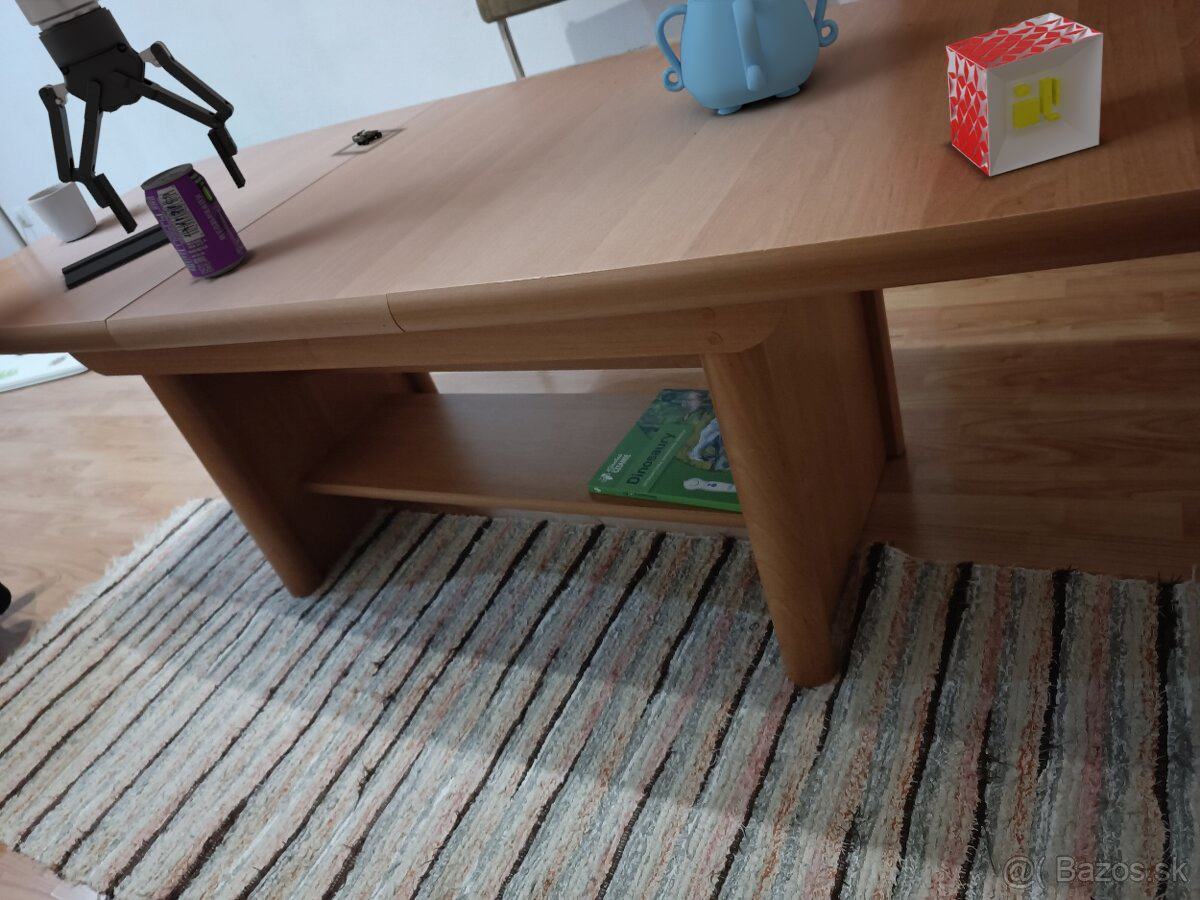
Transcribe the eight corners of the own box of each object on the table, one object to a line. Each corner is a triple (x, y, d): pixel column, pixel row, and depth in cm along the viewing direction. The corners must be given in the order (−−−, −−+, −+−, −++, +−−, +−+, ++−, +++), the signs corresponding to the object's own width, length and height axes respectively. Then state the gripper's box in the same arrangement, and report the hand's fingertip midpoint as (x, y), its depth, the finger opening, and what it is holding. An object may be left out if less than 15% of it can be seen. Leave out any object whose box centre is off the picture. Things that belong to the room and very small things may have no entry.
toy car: (383, 136, 136) (377, 123, 135) (364, 147, 134) (358, 134, 133) (373, 136, 138) (367, 124, 137) (354, 147, 136) (348, 135, 135)
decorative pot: (657, 118, 101) (624, -6, 94) (755, 63, 107) (732, -58, 99) (753, 128, 89) (725, -14, 81) (859, 65, 94) (842, -74, 86)
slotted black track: (69, 290, 120) (63, 282, 119) (66, 273, 128) (61, 266, 127) (204, 225, 126) (199, 218, 125) (194, 214, 133) (189, 206, 133)
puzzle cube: (989, 176, 65) (985, 69, 61) (951, 145, 72) (945, 45, 67) (1100, 144, 64) (1104, 32, 60) (1051, 114, 70) (1052, 11, 66)
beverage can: (261, 252, 106) (207, 158, 99) (217, 282, 102) (158, 186, 95) (227, 254, 110) (173, 163, 103) (184, 282, 106) (124, 190, 99)
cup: (66, 232, 151) (36, 189, 147) (110, 214, 152) (81, 171, 147) (52, 251, 142) (19, 206, 138) (99, 232, 143) (67, 187, 138)
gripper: (188, -30, 93) (288, 159, 105) (-33, 57, 92) (93, 238, 104) (179, -26, 87) (286, 174, 99) (-59, 67, 86) (79, 258, 98)
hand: (188, 207), depth 102 cm, fingers open, 13 cm apart
